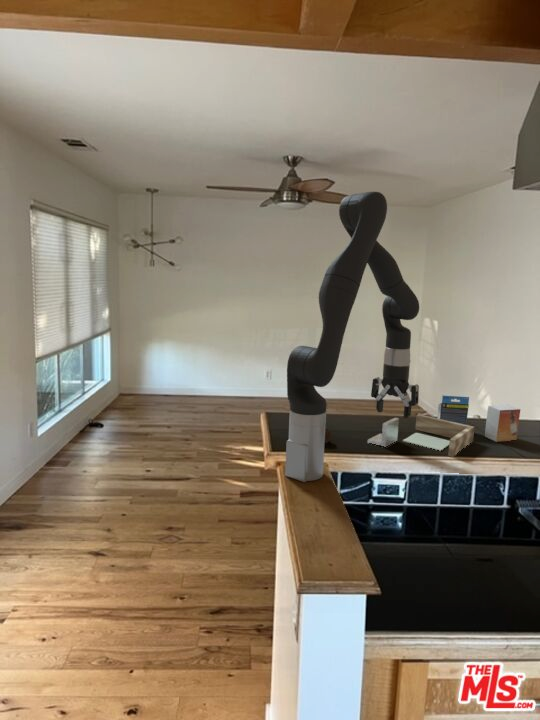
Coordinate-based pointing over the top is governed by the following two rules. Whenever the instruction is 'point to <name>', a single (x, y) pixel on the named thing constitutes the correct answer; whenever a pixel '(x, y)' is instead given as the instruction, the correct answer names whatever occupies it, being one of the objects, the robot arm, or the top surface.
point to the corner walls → (447, 432)
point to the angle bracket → (386, 433)
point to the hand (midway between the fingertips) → (393, 414)
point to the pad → (427, 441)
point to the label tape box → (453, 409)
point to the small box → (502, 423)
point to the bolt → (327, 435)
